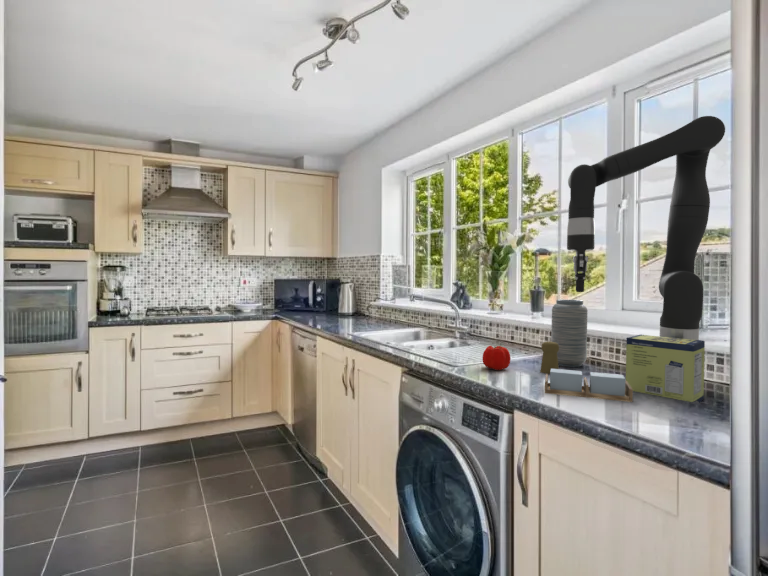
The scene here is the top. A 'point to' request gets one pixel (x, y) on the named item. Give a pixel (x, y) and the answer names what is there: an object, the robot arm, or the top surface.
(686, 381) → the protein box
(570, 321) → the vase
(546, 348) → the cork
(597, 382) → the pale blue sponge block
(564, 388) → the grey blue block
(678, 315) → the robot arm
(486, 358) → the tomato
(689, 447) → the top surface
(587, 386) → the rack
